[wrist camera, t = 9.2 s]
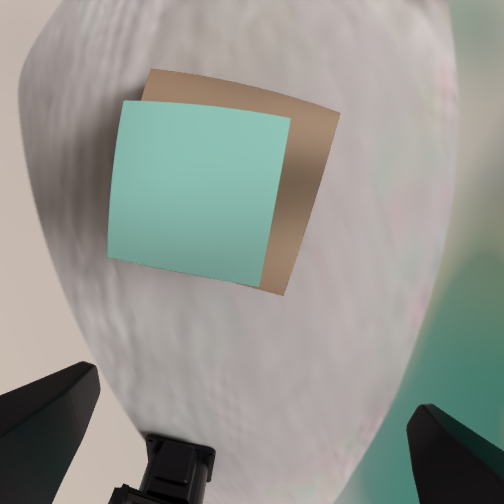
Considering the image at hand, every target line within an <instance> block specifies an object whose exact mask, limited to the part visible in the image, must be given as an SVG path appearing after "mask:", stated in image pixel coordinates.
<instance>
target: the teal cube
mask: <svg viewBox="0 0 504 504" xmlns="http://www.w3.org/2000/svg"><path fill="white" fill-rule="evenodd" d="M290 120H291V118H287V117H282V116H276V115H271V114H265V113H259V112H253V111H246V110H239V109H232V108H224V107H216V106H207V105H197V104H185V103H172V102H154V101H123V106H122V112H121V117H120V123H119V129H118V135H117V142H116V149H115V156H114V164H113V173H112V182H111V193H110V205H109V221H108V243H107V257H108V258H113V259H117V260H122V261H127V262H132V263H136V264H141V265H146V266H151V267H156V268H161V269H166V270H171V271H176V272H181V273H186V274H192V275H197V276H202V277H207V278H213V279H218V280H223V281H229V282H234V283H240V284H246V285H251V286H257V287H259V285H260V280H261V275H262V270H263V265H264V259H265V254H266V249H267V244H268V239H269V234H270V228H271V223H272V218H273V213H274V207H275V202H276V197H277V191H278V186H279V181H280V175H281V170H282V165H283V159H284V154H285V148H286V143H287V137H288V132H289V126H290Z"/></svg>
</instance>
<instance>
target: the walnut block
mask: <svg viewBox="0 0 504 504" xmlns="http://www.w3.org/2000/svg"><path fill="white" fill-rule="evenodd" d="M141 101H154V102H172V103H185V104H197V105H207V106H216V107H224V108H232V109H239V110H246V111H253V112H259V113H265V114H271V115H276V116H282V117H287V118H291V120H290V126H289V132H288V137H287V143H286V148H285V154H284V159H283V165H282V170H281V175H280V181H279V186H278V191H277V197H276V202H275V207H274V213H273V218H272V223H271V228H270V234H269V239H268V244H267V249H266V254H265V259H264V265H263V270H262V275H261V280H260V285H259V287H257V286H251V285H246V284H241V285H244V286H248V287H252V288H256V289H259V290H263V291H267V292H271V293H274V294H278V295H282V296H284V293H285V290H286V287H287V284H288V281H289V278H290V275H291V272H292V269H293V266H294V263H295V260H296V257H297V254H298V251H299V248H300V245H301V242H302V239H303V236H304V233H305V230H306V227H307V224H308V221H309V218H310V214H311V211H312V208H313V205H314V202H315V198H316V195H317V192H318V189H319V185H320V182H321V179H322V175H323V172H324V169H325V165H326V162H327V159H328V155H329V152H330V148H331V145H332V141H333V138H334V134H335V131H336V127H337V123H338V120H339V116H340V113H339V112H336V111H334V110H331V109H328V108H325V107H322V106H319V105H316V104H313V103H310V102H307V101H303V100H300V99H297V98H294V97H290V96H287V95H283V94H280V93H276V92H272V91H269V90H265V89H261V88H257V87H253V86H249V85H244V84H240V83H236V82H231V81H226V80H221V79H216V78H211V77H206V76H200V75H194V74H188V73H181V72H174V71H167V70H159V69H151V70H150V73H149V76H148V79H147V82H146V85H145V88H144V91H143V95H142V98H141ZM237 284H240V283H237Z"/></svg>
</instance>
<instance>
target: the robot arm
mask: <svg viewBox="0 0 504 504" xmlns="http://www.w3.org/2000/svg"><path fill="white" fill-rule="evenodd" d="M99 395H100V383H99V376H98V370H97V367H96V366H95V365H94V364H91V363H88V362H85V361H82V362H79V363H77V364H74V365H72V366H69V367H67V368H65V369H63V370H60V371H58V372H56V373H53V374H51V375H48V376H46V377H44V378H41V379H39V380H36V381H34V382H32V383H30V384H27V385H24V386H22V387H20V388H17V389H15V390H12V391H10V392H7V393H5V394H2V395H0V504H52V502H53V500H54V498H55V495H56V493H57V491H58V489H59V487H60V484H61V482H62V480H63V478H64V476H65V474H66V472H67V470H68V468H69V466H70V464H71V461H72V460H73V457H74V456H75V454H76V452H77V450H78V448H79V446H80V444H81V441H82V439H83V437H84V434H85V432H86V429H87V427H88V424H89V421H90V419H91V416H92V413H93V411H94V408H95V405H96V403H97V400H98V397H99ZM406 431H407V437H408V444H409V450H410V457H411V465H412V471H413V475H414V480H415V484H416V489H417V493H418V497H419V502H420V504H504V451H503V450H501V449H500V448H498V447H497V446H495V445H494V444H492V443H491V442H489V441H487V440H486V439H484V438H483V437H481V436H480V435H478V434H477V433H475V432H474V431H472V430H471V429H469V428H468V427H466V426H465V425H463V424H462V423H460V422H459V421H457V420H455V419H454V418H453V417H451V416H450V415H448V414H447V413H445V412H444V411H442V410H441V409H439V408H438V407H436V406H435V405H433V404H421V405H419V406H418V407H417V409H416V410H415V412H414V414H413V415H412V417H411V419H410V420H409V422H408V424H407V429H406ZM146 447H147V455H148V464H147V467H146V471H145V473H144V476H143V479H142V482H141V485H140V488H139V490H137V489H134V488H131V487H129V485H126V484H123V485H122V487H121V488H116V487H115V488H114V491H113V493H112V496H111V498H110V501H109V503H108V504H203V498H204V492H205V486H206V482H210V481H211V476H212V470H213V465H214V459H215V454H216V451H215V450H214V449H212V448H207V447H201V446H196V445H191V444H187V443H182V442H178V441H174V440H169V439H165V438H162V437H158V436H154V435H147V437H146Z"/></svg>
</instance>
